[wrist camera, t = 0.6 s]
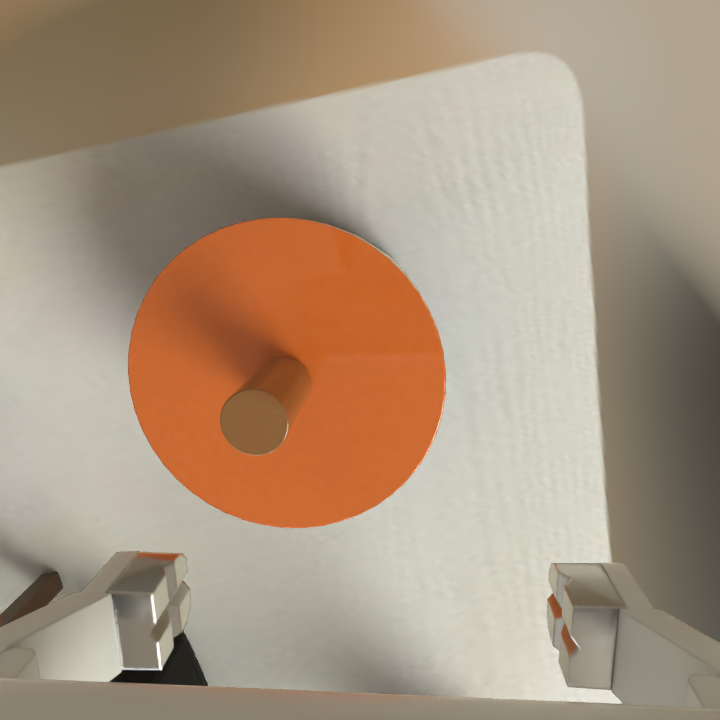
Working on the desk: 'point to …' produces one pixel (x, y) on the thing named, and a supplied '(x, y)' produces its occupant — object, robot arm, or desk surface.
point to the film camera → (170, 668)
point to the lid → (287, 372)
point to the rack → (33, 598)
